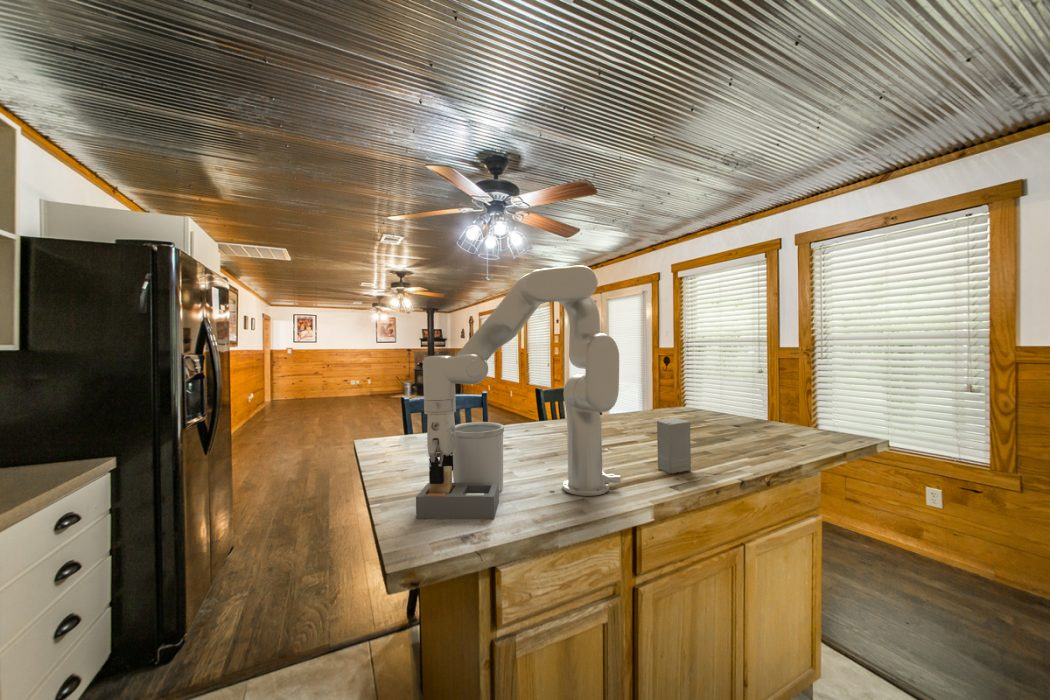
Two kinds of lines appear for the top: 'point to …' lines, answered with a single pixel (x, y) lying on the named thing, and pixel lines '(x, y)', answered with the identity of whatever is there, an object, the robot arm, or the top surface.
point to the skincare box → (674, 445)
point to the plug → (447, 484)
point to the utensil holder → (478, 453)
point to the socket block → (459, 502)
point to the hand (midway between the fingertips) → (442, 477)
